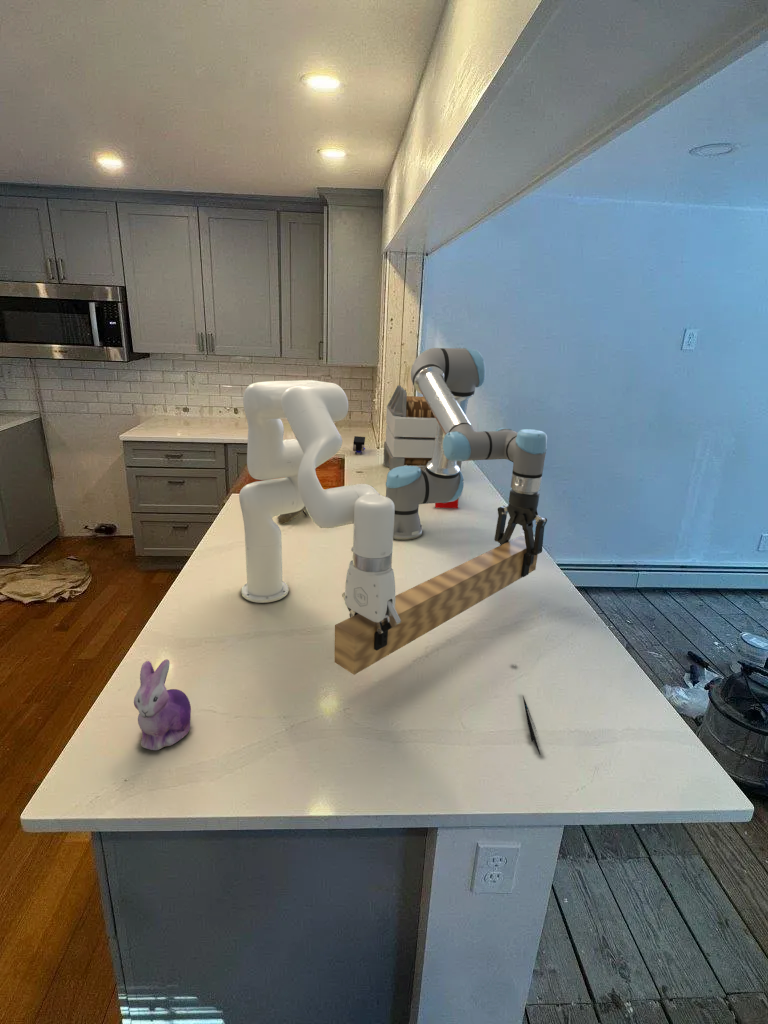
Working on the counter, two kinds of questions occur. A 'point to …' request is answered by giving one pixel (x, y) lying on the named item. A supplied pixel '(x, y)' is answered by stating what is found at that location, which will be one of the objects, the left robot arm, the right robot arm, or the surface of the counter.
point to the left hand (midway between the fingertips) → (369, 639)
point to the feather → (530, 725)
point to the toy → (447, 504)
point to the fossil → (289, 516)
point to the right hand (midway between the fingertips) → (514, 571)
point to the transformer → (409, 431)
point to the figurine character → (358, 444)
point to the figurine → (160, 708)
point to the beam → (431, 604)
